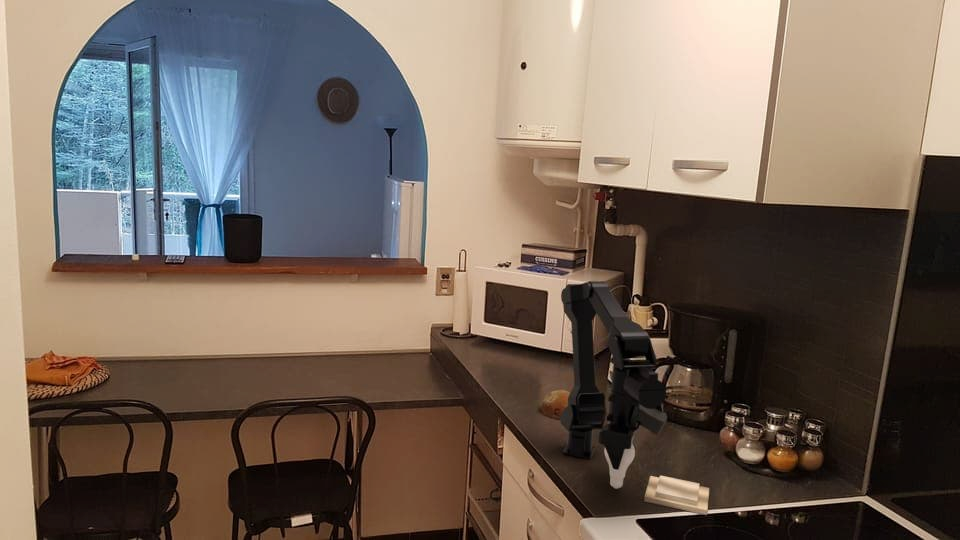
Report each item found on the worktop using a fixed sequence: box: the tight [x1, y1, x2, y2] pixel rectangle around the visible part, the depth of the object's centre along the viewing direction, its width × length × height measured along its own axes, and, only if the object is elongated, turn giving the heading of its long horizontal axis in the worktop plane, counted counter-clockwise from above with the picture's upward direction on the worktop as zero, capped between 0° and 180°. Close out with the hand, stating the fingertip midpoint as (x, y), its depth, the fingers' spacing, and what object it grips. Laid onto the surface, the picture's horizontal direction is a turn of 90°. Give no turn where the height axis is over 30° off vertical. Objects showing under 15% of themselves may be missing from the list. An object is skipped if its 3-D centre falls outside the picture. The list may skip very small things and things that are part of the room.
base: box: [643, 475, 710, 516], centre depth 138 cm, size 10×12×2 cm
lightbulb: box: [603, 444, 636, 489], centre depth 138 cm, size 6×6×11 cm
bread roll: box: [540, 389, 571, 421], centre depth 180 cm, size 10×10×8 cm
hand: (618, 463), depth 138 cm, fingers closed on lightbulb, 6 cm apart
